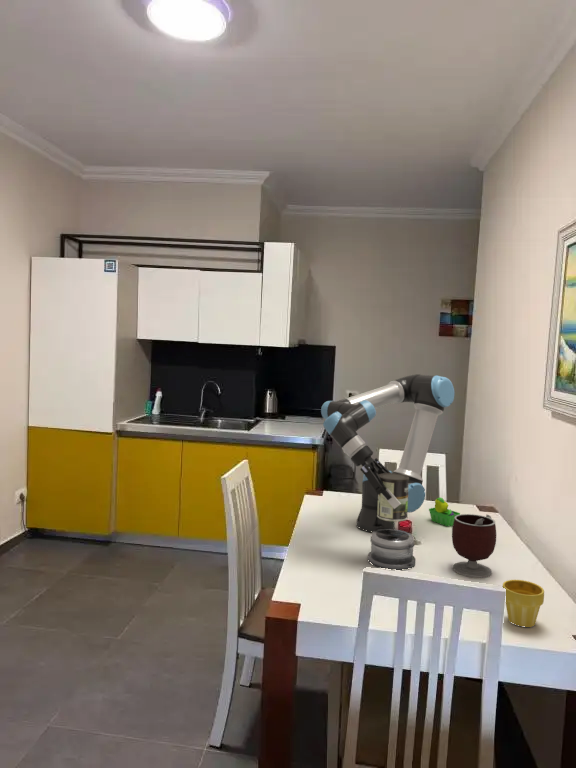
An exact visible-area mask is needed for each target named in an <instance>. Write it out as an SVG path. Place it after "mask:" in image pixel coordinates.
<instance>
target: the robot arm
mask: <svg viewBox="0 0 576 768" xmlns="http://www.w3.org/2000/svg"><path fill="white" fill-rule="evenodd" d="M454 401H455V387H454V385H453V382H452V381H451V379H449V378H448V377H445V376H440V375H438V374H437V375H430V374H421V373H420V374H410V375H406V376H403V377H399V378H397V379H393V380H391V381H389V382H388V383H387V384H386V385H383V386H381V387H377V388H375V389H371V390H367V391H365V392H362V393H359V394H355V395H352V396H350V397H346V398H343V399H339V400H327V401H325V402H324V403H323V404H322V406H321V407H320V408H321V409H320V413H321V417H322V418H323V419H324V420H323V424H322V425H323V428H324V429H325V431H326V432H327V433H328V435H330V437H331V438H332V439H333V440H334V442H336V444H337V445H338V446H339V447H340V448H341V449H342V451H343V454H345V455H347V456H348V458H350V460H351V462H352V463H353V464H354V465H355V467H360V466H361V468H360V469H359V470H360V471H361V473H363V475H362V482H361V485H362V486H361V487H362V488H361V508H360V511H359V513H358V517H357V519H356V527H357V526H358V527H360V528H361V529H364V530H367V531H372V532H373V531H376V530H380V529H395V527H396V526H395V523H396V522H392V521H385V520H382V519H379V518H378V517H377V510H378V495H380V494H382V495H383V496H384V497H385V499H386V500H387V501H388V502H389V503H390V505H391V506H392V507H393V508H394V509H395V508H396V507H398V506H399V505H400V504H401V503H400V502H399V501H398V500H397V498H396V497H395V496H394V495H393V494H392V493H391V491H390V490H389V489H388V488H387V489H386V487H385V485H384V484H383V482H382V480H381V478H380V476H379V474H383V473H397V474H403V475H407V476H409V486H408V513H414V512H416V511H417V510H419V509H420V508H421V506H422V505H423V504H424V501H425V498H426V489H425V487H424V486H423V481H424V480H423V478H422V476H421V473H422V470H423V468H424V464H425V460H426V458H427V457H426V456H427V454H428V451H429V447H430V445H431V444H430V443H431V440H432V437H433V433H434V430H435V427H436V424H437V420H438V416H440V415H443V413H444V410H445V409H446V408H447V407H448V408H449V407H450V406H451V405H452V404H453V402H454ZM402 403H412V404H413V407H414V409H415V412H414V415H413V419H412V422H411V426H410V430H409V432H408V436H407V439H406V442H405V446H404V449H403V452H402V455H401V459H400V461H399V466H398V468H396V469H395V470H393V471H392V470H388V469H387V467H385V466H384V465H383V464H382V463H381V461H380V460H379V459H378V458H372V457H371V456H373V455H374V451H373V450H372V448H370V447H369V445H367V444H366V441H365V440H363V438H362V437H361V436H360V435H359V434H358V433H357V431H358V430H360V429H361V428H363V427H364V426H366V425H367V424H369V423H370V422H372V420H373V419H374V418H375V417H376V414H377V410H376V409H379V408H383V407H385V406H388V405H391V404H396V405H397V404H398V405H399V404H402ZM408 513H407V514H408ZM358 527H357V528H358ZM361 529H360V530H361ZM367 531H366V532H367ZM372 532H371V533H372Z"/></svg>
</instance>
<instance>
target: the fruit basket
mask: <svg viewBox="0 0 576 768" xmlns="http://www.w3.org/2000/svg"><path fill="white" fill-rule="evenodd" d="M434 503H435V504H434V507H431V508H428V511H429V515H430V519H431V522H434V523H437V524H439V525H442V526H445V527H453V523H454V518H455V516H457V515H461V512H458V511H456V510H455V511H454V510H451V509H448V507H449V503H448V502H447V501H445V500H444V499H443V497H437V498H436V499H435V500H434Z"/></svg>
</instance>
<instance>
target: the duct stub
mask: <svg viewBox="0 0 576 768" xmlns="http://www.w3.org/2000/svg"><path fill="white" fill-rule="evenodd" d="M414 538H415V537H414V536H413V535H412V534H411V532H407V531H404V530H399V529H395V528H394V529H380V530H376V531H373V532H371V535H370V552H368V553H367V561H368V560H369V562H371V563H372V564H373V565H372V566H374V567H376V568H378V567H381V568H388V569H396V570H400V571H403V570H402V569H408V568H411V569H413V568H414V567H416V562H417V560H416V557H415V556H414V553H413V552H414V546H415V539H414ZM369 562H368V563H369ZM412 567H413V568H412ZM381 568H380V569H381ZM408 570H409V569H408Z"/></svg>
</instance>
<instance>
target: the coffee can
mask: <svg viewBox="0 0 576 768" xmlns="http://www.w3.org/2000/svg"><path fill="white" fill-rule="evenodd" d="M379 476H380V478H381V480H382V482H383V484H384V485H385V487H386V489H387V488H388V489H389V490H390V491H391V493H392V494H393V495H394V496H395V497H396V498H397V500H398V501H399V502H400V503H401V504H400V505H399V506H398V507H396V508H395V509H394V508H393V507H392V506H391V505H390V503H389V502H388V501H387V500H386V499H385V497H384V496H383V495H382V494H380V495H378V510H377V517H378V518H379V519H382V520H385V521H392V522H394V523H397V522H405V521H407V520H408V486H409V476H407V475H403V474H397V473H393V472H392V473H383V474H379Z"/></svg>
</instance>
